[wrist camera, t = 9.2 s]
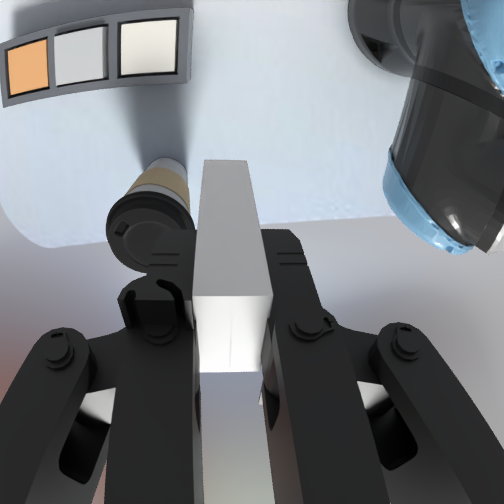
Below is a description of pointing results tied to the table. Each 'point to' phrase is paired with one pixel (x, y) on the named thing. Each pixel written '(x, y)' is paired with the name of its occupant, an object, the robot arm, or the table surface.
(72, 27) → the keypad
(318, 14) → the table surface
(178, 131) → the table surface
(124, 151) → the table surface
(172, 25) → the key cream
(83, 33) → the key grey
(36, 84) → the key orange
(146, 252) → the coffee cup
